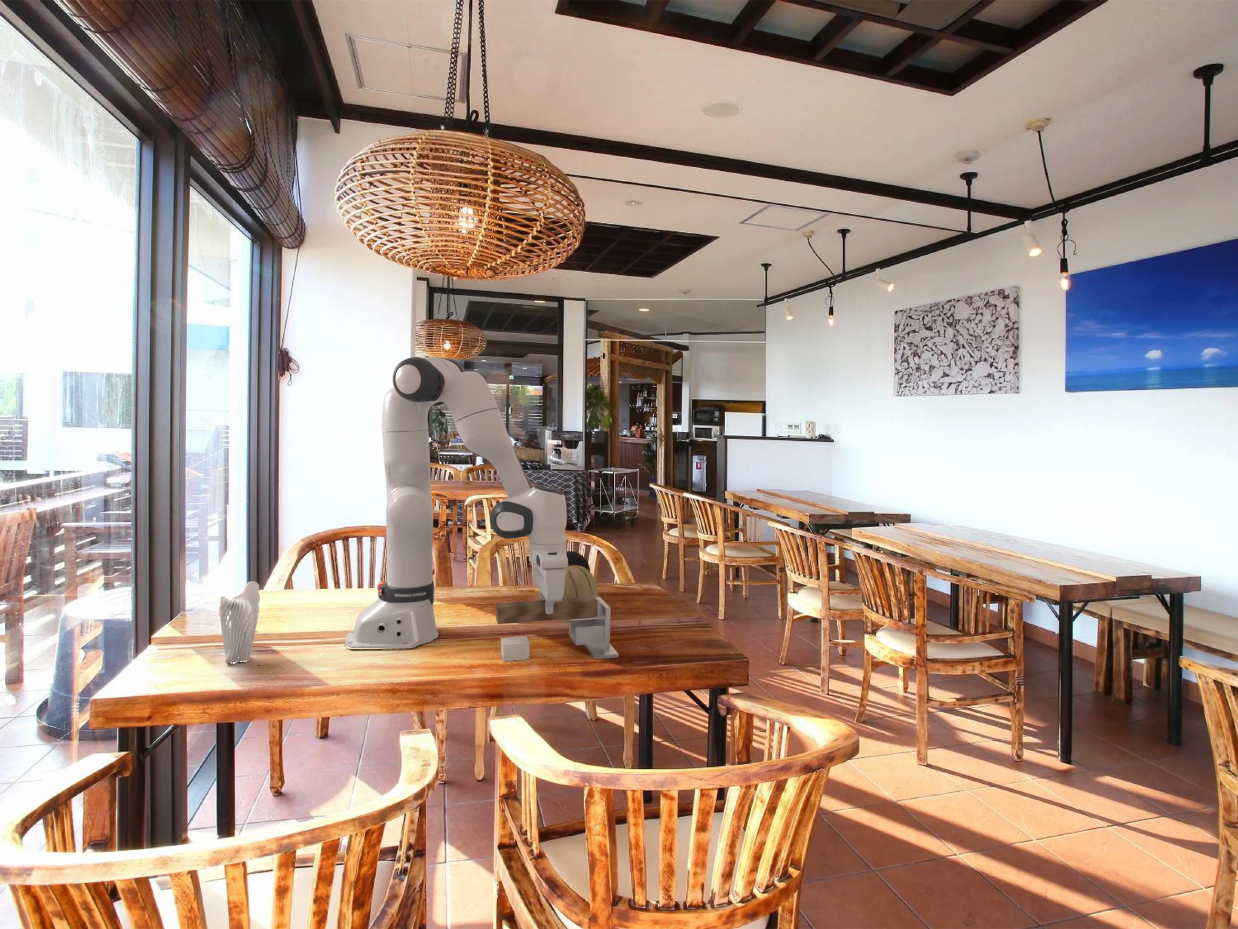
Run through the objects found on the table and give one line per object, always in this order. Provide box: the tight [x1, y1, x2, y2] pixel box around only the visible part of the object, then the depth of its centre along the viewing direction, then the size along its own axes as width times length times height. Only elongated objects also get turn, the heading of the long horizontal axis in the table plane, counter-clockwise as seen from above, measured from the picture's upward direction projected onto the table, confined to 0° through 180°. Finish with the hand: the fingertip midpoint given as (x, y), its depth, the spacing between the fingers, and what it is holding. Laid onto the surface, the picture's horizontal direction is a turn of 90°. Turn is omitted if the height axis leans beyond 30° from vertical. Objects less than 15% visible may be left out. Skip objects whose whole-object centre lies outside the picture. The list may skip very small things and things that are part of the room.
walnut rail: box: [495, 597, 598, 625], centre depth 163 cm, size 24×4×4 cm, turn 107°
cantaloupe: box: [563, 565, 599, 599], centre depth 195 cm, size 15×15×15 cm
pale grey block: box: [500, 635, 530, 662], centre depth 161 cm, size 6×5×4 cm
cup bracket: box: [568, 596, 619, 660], centre depth 166 cm, size 10×12×12 cm
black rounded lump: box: [566, 550, 591, 572], centre depth 213 cm, size 13×13×15 cm
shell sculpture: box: [218, 580, 261, 664], centre depth 153 cm, size 8×8×18 cm
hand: (546, 610), depth 162 cm, fingers closed on walnut rail, 3 cm apart
